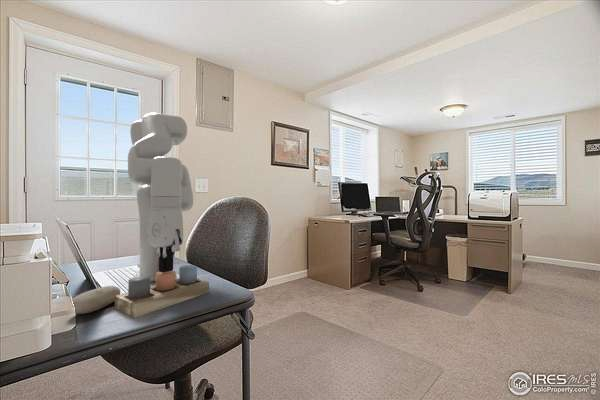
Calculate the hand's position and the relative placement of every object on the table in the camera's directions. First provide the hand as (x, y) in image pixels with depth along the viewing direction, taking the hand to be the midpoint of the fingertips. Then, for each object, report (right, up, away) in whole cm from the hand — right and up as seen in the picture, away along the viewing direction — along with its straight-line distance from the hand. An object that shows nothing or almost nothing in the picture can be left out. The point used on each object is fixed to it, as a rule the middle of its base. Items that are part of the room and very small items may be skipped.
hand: (166, 270), depth 77 cm
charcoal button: (-4, -5, -5) cm, 8 cm away
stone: (-14, -8, -6) cm, 18 cm away
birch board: (0, -8, +1) cm, 8 cm away
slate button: (+4, -5, +6) cm, 8 cm away
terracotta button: (0, -5, 0) cm, 5 cm away
